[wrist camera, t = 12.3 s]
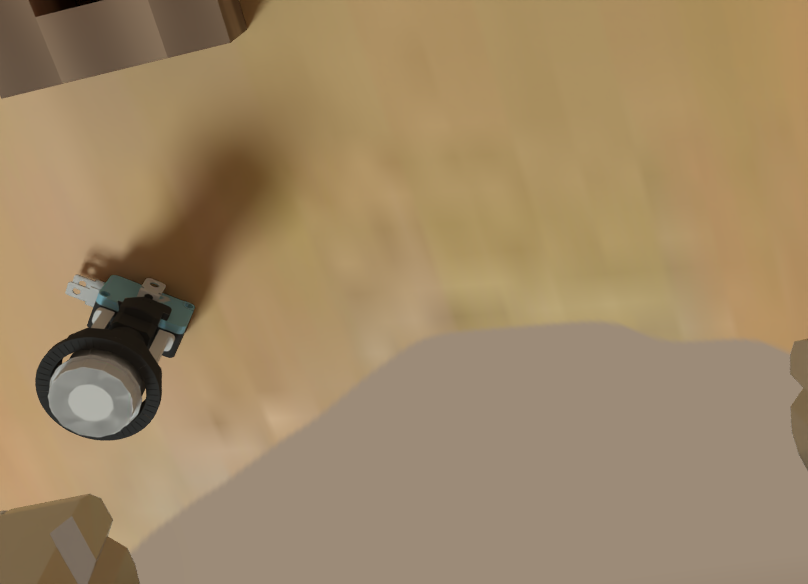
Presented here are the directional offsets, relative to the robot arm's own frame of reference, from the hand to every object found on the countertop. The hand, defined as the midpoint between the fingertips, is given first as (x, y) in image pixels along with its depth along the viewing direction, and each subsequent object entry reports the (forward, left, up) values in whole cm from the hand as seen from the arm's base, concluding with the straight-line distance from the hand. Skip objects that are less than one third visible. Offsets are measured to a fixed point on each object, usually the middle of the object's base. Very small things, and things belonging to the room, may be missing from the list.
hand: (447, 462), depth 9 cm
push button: (+16, +9, -31) cm, 36 cm away
